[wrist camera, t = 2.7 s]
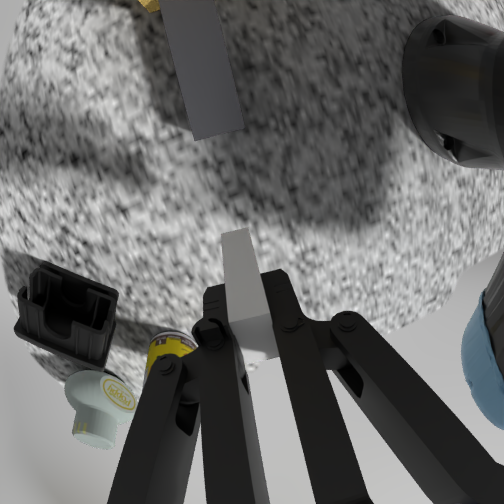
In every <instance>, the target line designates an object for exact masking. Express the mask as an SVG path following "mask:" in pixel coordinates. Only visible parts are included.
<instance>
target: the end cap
mask: <svg viewBox="0 0 504 504" xmlns="http://www.w3.org/2000/svg"><path fill="white" fill-rule="evenodd" d="M29 281H30V298H29V300H28V298H27V287H26V286H24V285H23V287H22V288H21V289H20V290H19V293H18V295H17V298H18V307H19V315H20V317H19V319H18V321H17V323H16V325H15V326H14V332H15V334H16V335H17V336H18V337H19V338H21V339H23V340H25V341H27V342H29V343H31V344H33V345H36V346H38V347H40V348H42V349H44V350H46V351H49V352H51V353H53V354H55V355H58V356H60V357H63V358H65V359H67V360H70V361H72V362H75V363H77V364H80V365H83V366H85V367H88V368H91V369H93V370H96V371H99V372H103V371H104V369H105V366H106V362H107V358H108V354H109V351H110V347H111V343H112V339H113V335H114V331H115V327H116V323H115V322H114V317H115V312H116V305H117V301H118V297H119V293H118V291H117V290H115V289H113V288H110V287H108V286H105V285H102V284H100V283H97V282H95V281H92V280H90V279H87V278H85V277H82V276H80V275H77V274H75V273H73V272H70V271H68V270H65V269H63V268H61V267H58V266H56V265H54V264H52V263H49V262H47V261H44V262H42V264H41V265H40V268H36V269H35V270H34V271H33V273H31V274H30V277H29Z"/></svg>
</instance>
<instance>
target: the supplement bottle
mask: <svg viewBox="0 0 504 504" xmlns="http://www.w3.org/2000/svg"><path fill="white" fill-rule="evenodd" d="M196 348H197V345H196V343H195V342H194V341H193V340H192V339H191V338H190V337H188V336H187V335H184V334H182V333H178V332H163V333H160V334H158V335H156V336H155V337H154V338H153V339H152V340H151V342H150V346H149V351H148V357H147V363H146V369H145V375H144V382H143V388H144V385H145V383H146V380H147V377H148V374H149V372H150V369H151V366H152V364H153V363H154V361H155V360H156V359H157V358H158V357H160V356H162V355H164V354H169V353H172V354H176V355H178V356H179V357H182V356H184V355H186V354H188V353H190V352H192V351H194V350H195V349H196ZM142 391H143V389H142Z"/></svg>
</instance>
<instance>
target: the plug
mask: <svg viewBox="0 0 504 504" xmlns="http://www.w3.org/2000/svg"><path fill="white" fill-rule="evenodd" d="M139 2H140V3H141V4H142V5H143V6H144V7H145V8H146V9H147V10H148V11H149V13H151V12H154V11H157V10H160V9H161V14H162V18H163V22H164V26H165V30H166V34H167V38H168V42H169V46H170V50H171V54H172V58H173V62H174V66H175V70H176V74H177V78H178V81H179V85H180V89H181V93H182V97H183V100H184V104H185V108H186V111H187V115H188V119H189V122H190V126H191V130H192V133H193V137H194V141H197V140H201V139H204V138H208V137H212V136H216V135H220V134H224V133H228V132H232V131H236V130H240V129H245V125H244V120H243V116H242V112H241V107H240V103H239V99H238V95H237V90H236V86H235V82H234V78H233V74H232V70H231V65H230V61H229V57H228V53H227V49H226V45H225V41H224V37H223V33H222V29H221V25H220V21H219V18H218V14H217V10H216V6H215V2H214V0H139Z"/></svg>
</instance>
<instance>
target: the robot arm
mask: <svg viewBox="0 0 504 504" xmlns="http://www.w3.org/2000/svg"><path fill="white" fill-rule="evenodd" d="M403 87H404V93H405V98H406V102H407V106H408V109H409V112H410V115H411V118H412V120H413V123H414V125H415V127H416V129H417V131H418V132H419V134H420V136H421V137H422V139H423V140H424V141H425V143H426V144H427V145H428V146H429V147H430V148H431V149H432V150H433V151H434V152H435V153H436V154H438V155H439V156H441V157H443V158H445V159H447V160H449V161H451V162H453V163H455V164H457V165H460V166H463V167H467V168H481V169H496V170H504V32H502V31H500V30H498V29H495V28H493V27H490V26H487V25H485V24H482V23H479V22H477V21H474V20H471V19H468V18H464V17H461V16H454V15H447V16H439V17H432V18H429V19H426V20H424V21H423V22H421V23H420V24H419V25H418V26H417V27H416V28H415V29H414V30H413V32H412V33H411V35H410V37H409V39H408V42H407V44H406V48H405V52H404V57H403ZM221 241H222V254H223V266H224V278H225V283H224V284H220V285H216V286H212V287H207V289H206V291H205V293H204V295H203V318H202V319H200V320H199V321H198V322H196V324H195V325H194V326H193V328H192V332H191V333H192V335H193V337H194V339H195V341H196V342H197V344H198V347H197V348H196V349H195V350H194V351H192V352H190V353H188V354H186V355H184V356H182V357H179V356H178V355H176V354H172V353H169V354H164V355H162V356H160V357H158V358H157V359H156V360H155V361H154V363H153V364H152V366H151V369H150V372H149V374H148V377H147V380H146V383H145V385H144V388H143V391H142V394H141V397H140V399H139V402H138V405H137V408H136V411H135V414H134V417H133V420H132V423H131V426H130V429H129V432H128V435H127V438H126V441H125V444H124V447H123V451H122V454H121V457H120V460H119V463H118V467H117V470H116V473H115V477H114V480H113V484H112V487H111V491H110V495H109V498H108V502H107V504H183V503H184V498H185V493H186V488H187V484H188V478H189V474H190V469H191V465H192V460H193V455H194V451H195V445H196V441H197V436H198V432H199V427H200V423H201V435H202V452H203V465H204V478H205V491H206V501H207V504H270V501H269V496H268V491H267V485H266V480H265V474H264V468H263V463H262V457H261V451H260V446H259V440H258V434H257V428H256V423H255V416H254V410H253V405H252V398H251V392H250V385H249V379H248V374H247V372H246V370H245V364H250V363H255V362H259V361H264V360H268V359H272V358H276V357H280V360H281V364H282V368H283V372H284V376H285V380H286V384H287V388H288V392H289V396H290V400H291V404H292V409H293V412H294V417H295V421H296V425H297V429H298V433H299V437H300V441H301V445H302V449H303V453H304V457H305V461H306V465H307V469H308V474H309V478H310V481H311V486H312V490H313V494H314V498H315V502H316V504H374V503H373V502H372V500H371V499H370V497H369V495H368V492H367V489H366V486H365V483H364V480H363V477H362V474H361V470H360V467H359V464H358V461H357V458H356V455H355V453H354V449H353V446H352V443H351V440H350V437H349V434H348V431H347V428H346V425H345V423H344V419H343V417H342V414H341V411H340V408H339V405H338V402H337V399H336V397H335V394H334V391H333V388H332V385H331V382H330V380H329V377H328V374H327V372H326V370H332V371H333V372H334V374H335V375H336V376H337V378H338V379H339V380H340V382H341V383H342V385H343V386H344V387H345V389H346V390H347V391H348V392H349V394H350V395H351V396H352V398H353V399H354V401H355V402H356V403H357V405H358V406H359V407H360V409H361V410H362V411H363V413H364V414H365V415H366V416H367V418H368V419H369V421H370V422H371V423H372V425H373V426H374V427H375V429H376V430H377V431H378V433H379V434H380V435H381V437H382V438H383V439H384V440H385V442H386V443H387V444H388V446H389V447H390V448H391V450H392V451H393V452H394V454H395V455H396V456H397V458H398V459H399V460H400V462H401V463H402V464H403V466H404V467H405V468H406V470H407V471H408V472H409V473H410V475H411V476H412V477H413V479H414V480H415V481H416V483H417V484H418V485H419V487H420V488H421V489H422V491H423V492H424V493H425V494H426V496H427V497H428V498H429V499H430V500H431V501H432V502H433V504H504V466H503V465H501V464H499V463H496V462H495V461H494V459H493V458H492V457H491V456H490V455H489V453H488V452H487V451H486V450H485V449H484V447H483V446H482V445H481V444H480V443H479V442H478V440H477V439H476V438H475V437H474V436H473V435H472V433H471V432H470V431H469V430H468V429H467V428H466V427H465V425H464V424H463V423H462V422H461V421H460V420H459V419H458V418H457V416H456V415H455V414H454V413H453V412H452V411H451V410H450V409H449V408H448V406H447V405H446V404H445V403H444V402H443V401H442V400H441V399H440V397H439V396H438V395H437V394H436V393H435V392H434V391H433V390H432V389H431V388H430V387H429V386H428V385H427V383H426V382H425V381H424V380H423V379H422V378H421V377H420V376H419V375H418V374H417V373H416V372H415V370H413V368H412V367H411V366H410V365H409V364H408V363H407V362H406V361H405V360H404V359H403V358H402V357H401V356H400V355H399V354H398V353H397V352H396V350H395V349H394V348H393V347H392V346H391V345H390V344H389V343H388V342H387V341H386V340H385V339H384V338H383V337H382V336H381V335H380V334H379V333H378V332H377V331H376V330H375V329H374V328H373V327H372V326H371V325H370V324H369V323H368V322H367V321H366V320H365V319H364V318H363V317H362V316H361V315H360V314H358V313H357V312H353V311H343V312H340V313H337V314H336V315H335V316H333V317H332V319H331V321H315V320H312V319H309V318H308V317H306V316H305V315H304V314H303V312H302V310H301V308H300V305H299V302H298V300H297V297H296V295H295V292H294V289H293V287H292V284H291V282H290V279H289V276H288V274H287V273H286V272H284V271H283V270H282V269H277V270H274V271H270V272H266V273H262V274H260V272H259V268H258V264H257V260H256V256H255V253H254V249H253V245H252V241H251V237H250V233H249V229H248V227H247V228H243V229H239V230H235V231H231V232H227V233H223V234H221ZM461 359H462V366H463V372H464V375H465V379H466V382H467V383H468V385H469V387H470V389H471V395H472V397H473V399H474V401H475V402H476V404H477V406H478V407H479V409H480V410H481V412H482V413H483V414H484V416H485V417H486V418H487V419H488V420H489V421H490V422H491V423H493V424H494V425H495V426H496V427H498V428H500V429H502V430H504V253H503V255H502V257H501V260H500V262H499V264H498V266H497V268H496V270H495V272H494V274H493V276H492V279H491V280H490V282H489V284H488V286H487V288H486V289H484V291H483V292H482V293H481V295H480V297H479V304H478V306H477V308H476V310H475V312H474V314H473V315H472V318H471V319H470V321H469V323H468V325H467V327H466V329H465V331H464V335H463V339H462V347H461ZM244 361H245V364H244Z"/></svg>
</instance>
